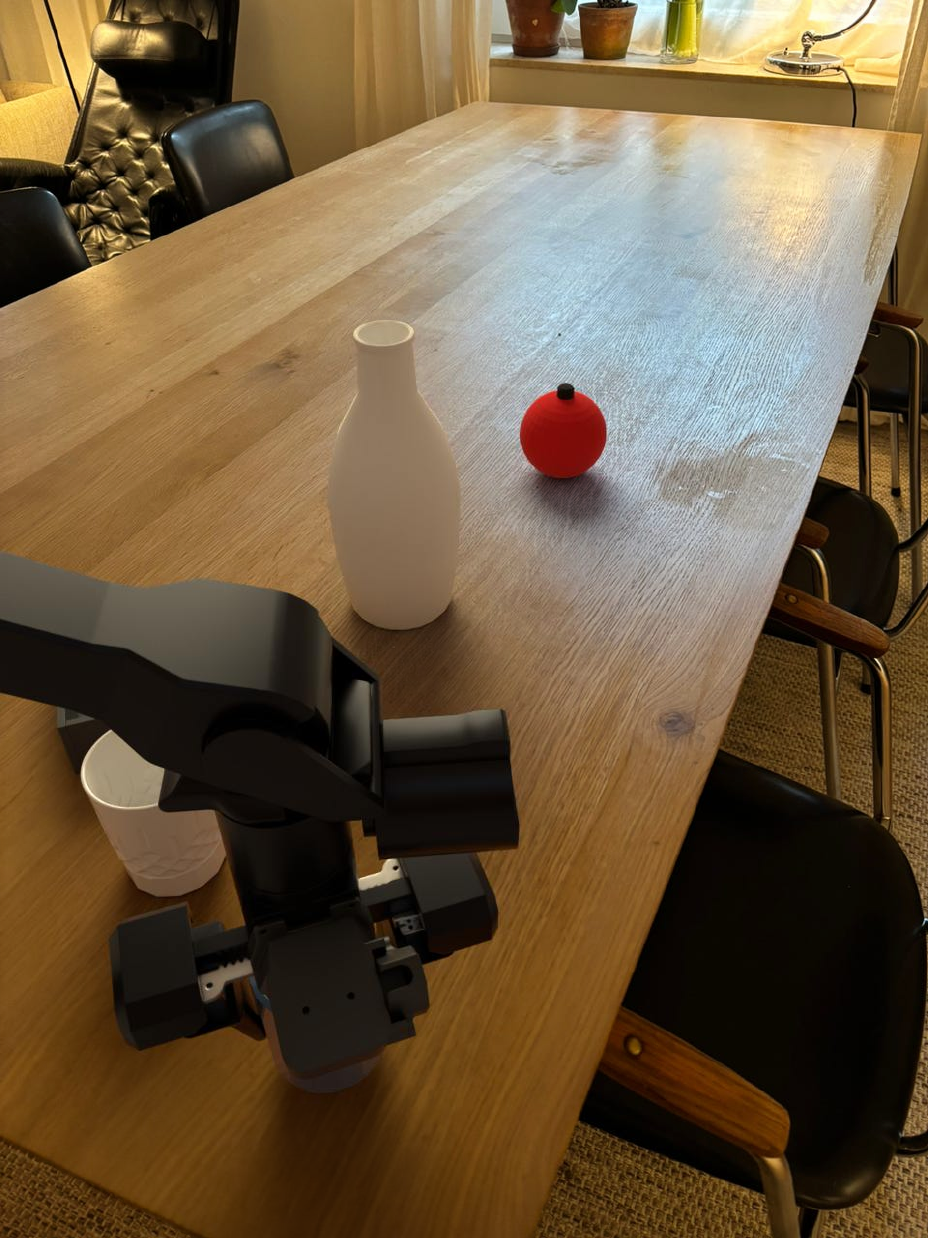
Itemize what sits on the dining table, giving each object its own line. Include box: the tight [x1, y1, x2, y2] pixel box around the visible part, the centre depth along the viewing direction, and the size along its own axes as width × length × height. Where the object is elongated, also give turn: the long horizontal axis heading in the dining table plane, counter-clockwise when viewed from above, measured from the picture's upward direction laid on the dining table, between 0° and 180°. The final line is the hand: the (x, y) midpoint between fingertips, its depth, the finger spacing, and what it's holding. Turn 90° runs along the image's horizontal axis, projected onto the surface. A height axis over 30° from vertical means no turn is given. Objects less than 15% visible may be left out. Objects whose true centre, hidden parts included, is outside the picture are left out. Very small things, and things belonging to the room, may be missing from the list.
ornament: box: [519, 382, 608, 479], centre depth 102 cm, size 9×9×10 cm
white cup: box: [80, 730, 227, 898], centre depth 65 cm, size 8×8×10 cm
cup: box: [247, 935, 386, 1094], centre depth 54 cm, size 7×7×8 cm
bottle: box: [326, 319, 462, 631], centre depth 81 cm, size 11×11×25 cm
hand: (324, 1012), depth 56 cm, fingers closed on cup, 7 cm apart
